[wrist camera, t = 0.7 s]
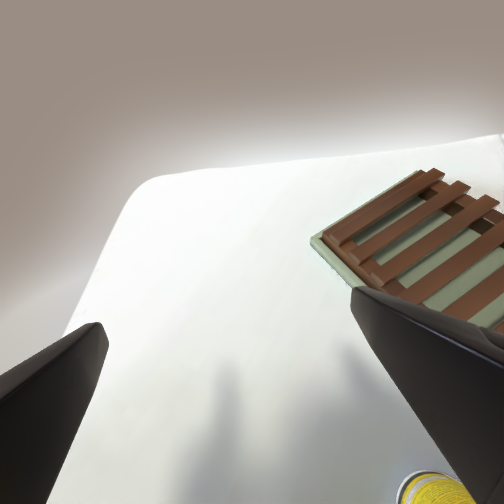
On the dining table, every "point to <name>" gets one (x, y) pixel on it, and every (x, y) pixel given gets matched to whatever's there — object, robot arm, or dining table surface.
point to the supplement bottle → (432, 489)
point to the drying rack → (424, 242)
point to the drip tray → (426, 261)
